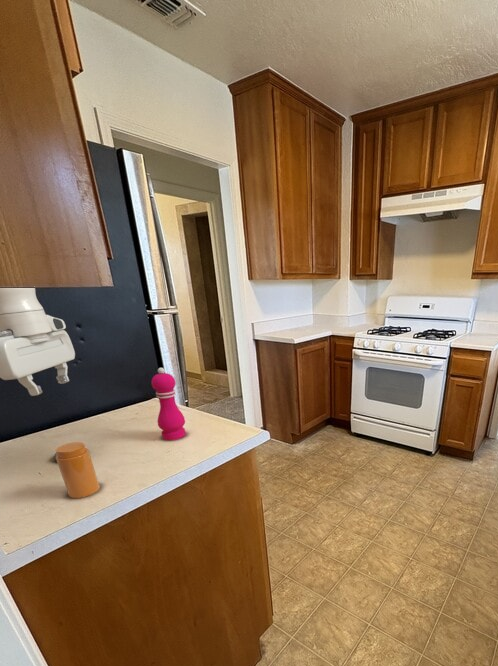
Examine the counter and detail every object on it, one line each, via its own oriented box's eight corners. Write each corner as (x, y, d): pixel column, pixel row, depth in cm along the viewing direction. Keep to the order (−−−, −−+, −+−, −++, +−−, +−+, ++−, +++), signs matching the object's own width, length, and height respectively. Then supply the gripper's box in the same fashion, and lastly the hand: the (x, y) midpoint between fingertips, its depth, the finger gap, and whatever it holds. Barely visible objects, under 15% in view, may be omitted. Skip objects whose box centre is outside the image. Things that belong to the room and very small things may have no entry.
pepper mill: (187, 429, 107) (175, 363, 99) (187, 438, 100) (174, 369, 93) (161, 433, 104) (146, 366, 96) (160, 442, 98) (144, 371, 90)
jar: (65, 500, 72) (48, 454, 68) (73, 486, 77) (59, 443, 73) (95, 495, 74) (81, 450, 70) (102, 482, 79) (89, 439, 74)
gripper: (0, 331, 66) (32, 401, 72) (68, 320, 85) (89, 375, 90) (-33, 335, 66) (2, 404, 72) (42, 322, 85) (65, 378, 90)
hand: (51, 388), depth 81 cm, fingers open, 8 cm apart
